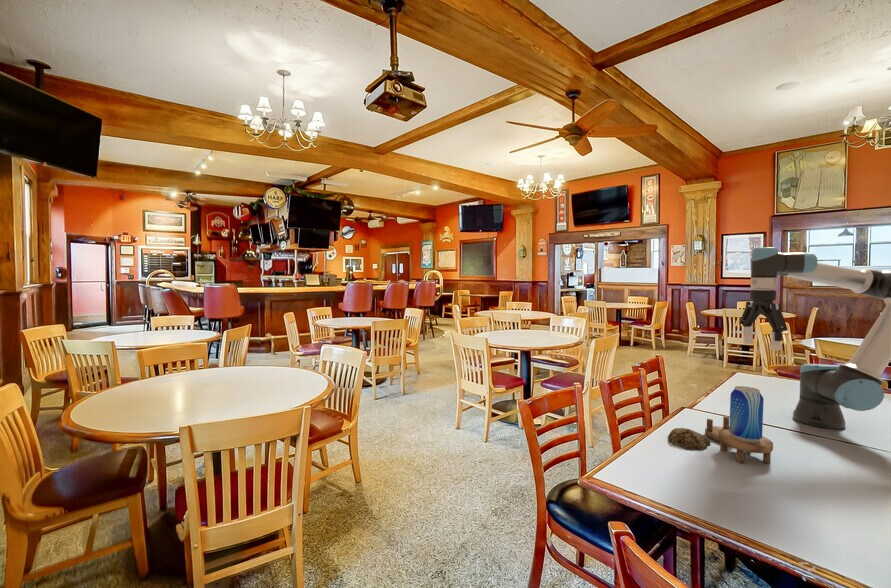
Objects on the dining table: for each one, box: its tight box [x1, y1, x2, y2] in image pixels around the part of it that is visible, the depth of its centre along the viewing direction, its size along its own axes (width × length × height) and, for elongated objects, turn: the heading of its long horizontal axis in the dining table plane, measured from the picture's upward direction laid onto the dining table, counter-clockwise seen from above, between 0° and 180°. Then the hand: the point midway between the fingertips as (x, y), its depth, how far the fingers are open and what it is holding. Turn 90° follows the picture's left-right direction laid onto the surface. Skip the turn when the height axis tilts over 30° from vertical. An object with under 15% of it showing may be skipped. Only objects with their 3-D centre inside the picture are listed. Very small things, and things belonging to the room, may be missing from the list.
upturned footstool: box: [704, 415, 730, 444], centre depth 141 cm, size 14×14×6 cm
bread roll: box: [667, 427, 711, 451], centre depth 138 cm, size 13×12×5 cm
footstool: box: [718, 430, 774, 465], centre depth 128 cm, size 14×14×6 cm
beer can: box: [729, 385, 764, 443], centre depth 127 cm, size 8×8×16 cm
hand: (761, 346), depth 147 cm, fingers open, 13 cm apart
